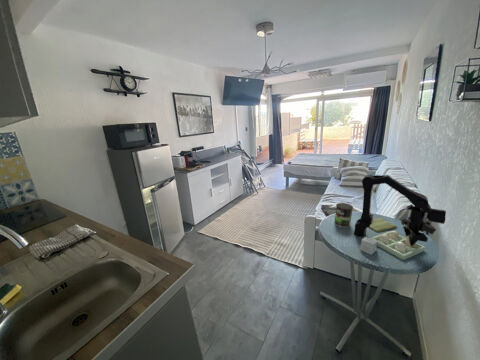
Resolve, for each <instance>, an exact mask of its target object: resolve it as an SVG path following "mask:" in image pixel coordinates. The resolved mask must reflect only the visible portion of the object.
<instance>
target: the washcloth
mask: <svg viewBox="0 0 480 360" xmlns="http://www.w3.org/2000/svg"><path fill="white" fill-rule="evenodd" d="M397 227H398V226H397V225H396V224H394V223H391V222H388V221H387V220H385V219H384V218H381V217H378V218H375V219H373V222H372V225H371V224H370V227H368V229H371V230H373V231H374V232H375V233H377V232H378V233H382V232H386V231H387V232H388V231H391V230H394V229H396V228H397Z"/></svg>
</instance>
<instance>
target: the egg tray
mask: <svg viewBox="0 0 480 360" xmlns="http://www.w3.org/2000/svg"><path fill="white" fill-rule="evenodd" d="M391 231H392V230H388V231H387V232H386V231H385V232H384V233H382V234H386V235H388V236H389V234H390V232H391ZM382 234H378V235H375V236H372V237H371V238H373V239H375V240H378V243H377V247H379V248H380V249H382V250H385V251H386V252H388V253H389V254H391V255H394V256H395V257H396V258H398V259H400V260H403V261H405V260H407V259H409V258H412V257H414V256H416V255H418V254H421V253H423V252H424V251H425V249H426V247H425V246H424V245H422V244H419V242H418V243H417V242H416V244H415V247H414V248H410V247H407V246H406V249H405V253H404V254H402V253H400V252H398V251H396V250H395V245H396V243H397V242H403V243H404V244H405V240H406V236H405V237H404V236H402V235H400V234H399V237H398V241H397V242H396V241H394V240H392V239H390V238H389V243H388V245H385V244H383V243H381V242H379V240H380V236H381V235H382Z"/></svg>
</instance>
